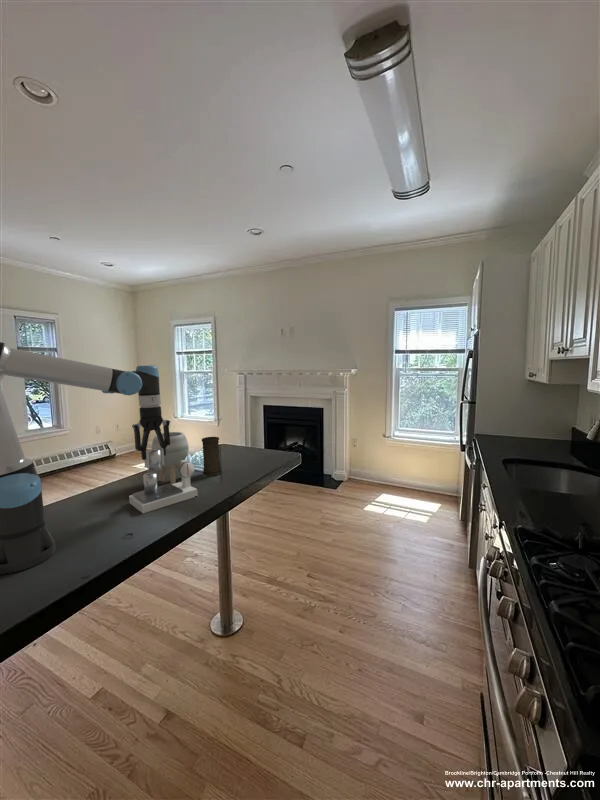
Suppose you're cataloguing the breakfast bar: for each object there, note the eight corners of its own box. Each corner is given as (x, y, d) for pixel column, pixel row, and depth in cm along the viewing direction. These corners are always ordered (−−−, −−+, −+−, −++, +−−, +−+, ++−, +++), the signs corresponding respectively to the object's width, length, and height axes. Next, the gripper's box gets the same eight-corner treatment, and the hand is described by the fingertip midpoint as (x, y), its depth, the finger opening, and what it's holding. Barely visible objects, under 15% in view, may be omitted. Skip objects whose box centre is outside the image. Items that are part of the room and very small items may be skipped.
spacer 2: (142, 491, 137) (141, 474, 136) (154, 488, 140) (153, 471, 139) (147, 494, 133) (145, 477, 132) (159, 491, 137) (158, 474, 136)
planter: (175, 489, 149) (171, 439, 147) (145, 485, 155) (142, 437, 152) (197, 477, 165) (194, 431, 162) (170, 474, 170) (167, 430, 167)
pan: (144, 503, 126) (144, 501, 126) (133, 495, 135) (132, 493, 135) (182, 492, 137) (182, 490, 137) (169, 485, 145) (169, 483, 145)
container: (219, 476, 165) (217, 440, 163) (200, 476, 165) (198, 440, 163) (223, 470, 174) (221, 436, 172) (206, 470, 174) (204, 436, 172)
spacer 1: (146, 468, 131) (144, 451, 130) (159, 465, 135) (157, 448, 134) (151, 471, 128) (149, 453, 127) (164, 468, 131) (162, 450, 130)
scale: (142, 513, 125) (139, 476, 124) (129, 503, 135) (126, 468, 133) (202, 494, 142) (200, 462, 140) (186, 486, 152) (184, 456, 150)
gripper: (128, 409, 120) (133, 473, 122) (177, 404, 132) (181, 462, 135) (121, 408, 125) (126, 469, 128) (169, 403, 138) (173, 459, 140)
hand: (154, 465), depth 131 cm, fingers closed on spacer 1, 5 cm apart
